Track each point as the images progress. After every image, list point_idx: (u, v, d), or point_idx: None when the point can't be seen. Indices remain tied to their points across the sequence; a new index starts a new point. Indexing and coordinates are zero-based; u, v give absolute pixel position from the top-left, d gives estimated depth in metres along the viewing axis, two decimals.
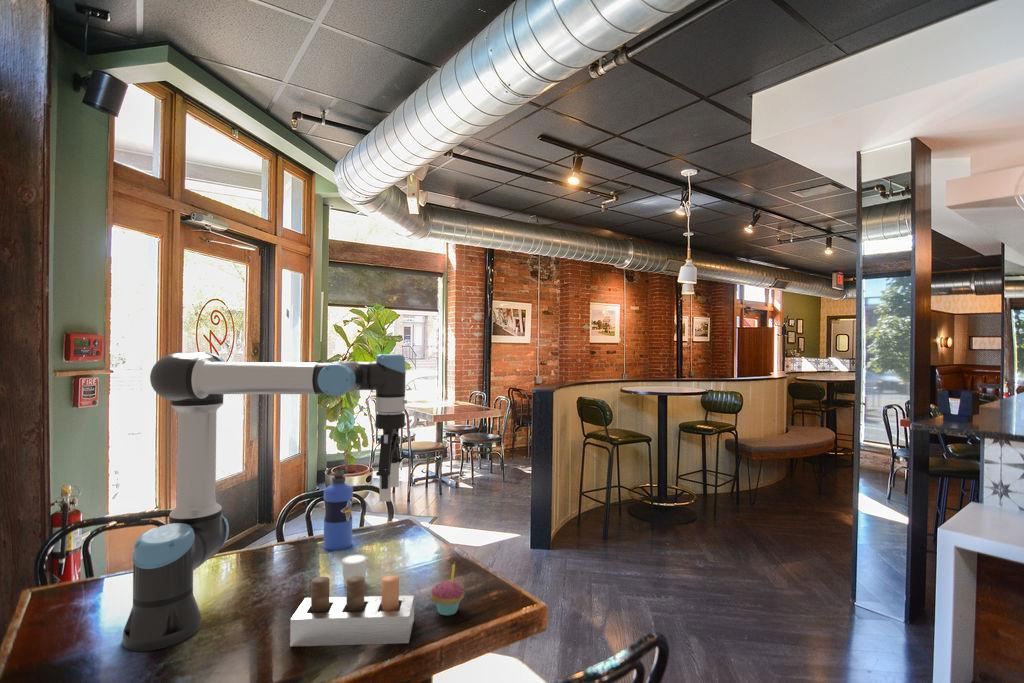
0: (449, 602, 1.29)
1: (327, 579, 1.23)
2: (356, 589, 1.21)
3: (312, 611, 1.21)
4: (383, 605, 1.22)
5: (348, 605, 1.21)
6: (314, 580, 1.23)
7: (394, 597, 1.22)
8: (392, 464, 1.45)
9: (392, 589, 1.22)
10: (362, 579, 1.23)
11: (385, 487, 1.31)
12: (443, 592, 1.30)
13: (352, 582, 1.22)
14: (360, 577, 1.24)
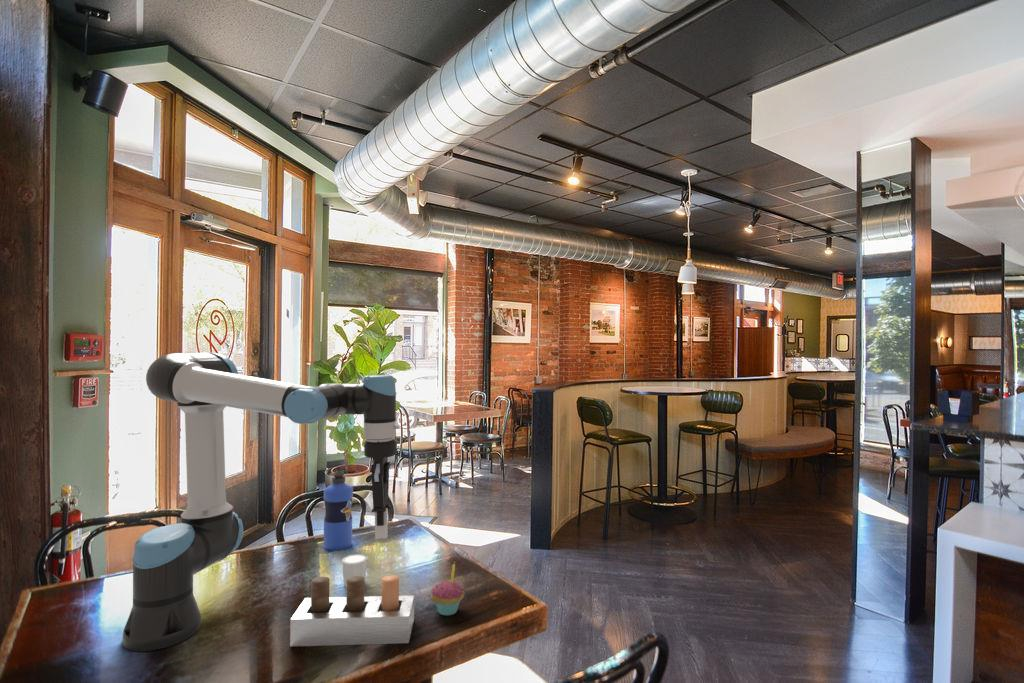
0: (449, 602, 1.29)
1: (327, 579, 1.23)
2: (356, 589, 1.21)
3: (312, 611, 1.21)
4: (383, 605, 1.22)
5: (348, 605, 1.21)
6: (314, 580, 1.23)
7: (394, 597, 1.22)
8: None
9: (392, 589, 1.22)
10: (362, 579, 1.23)
11: (381, 524, 1.25)
12: (443, 592, 1.30)
13: (352, 582, 1.22)
14: (360, 577, 1.24)
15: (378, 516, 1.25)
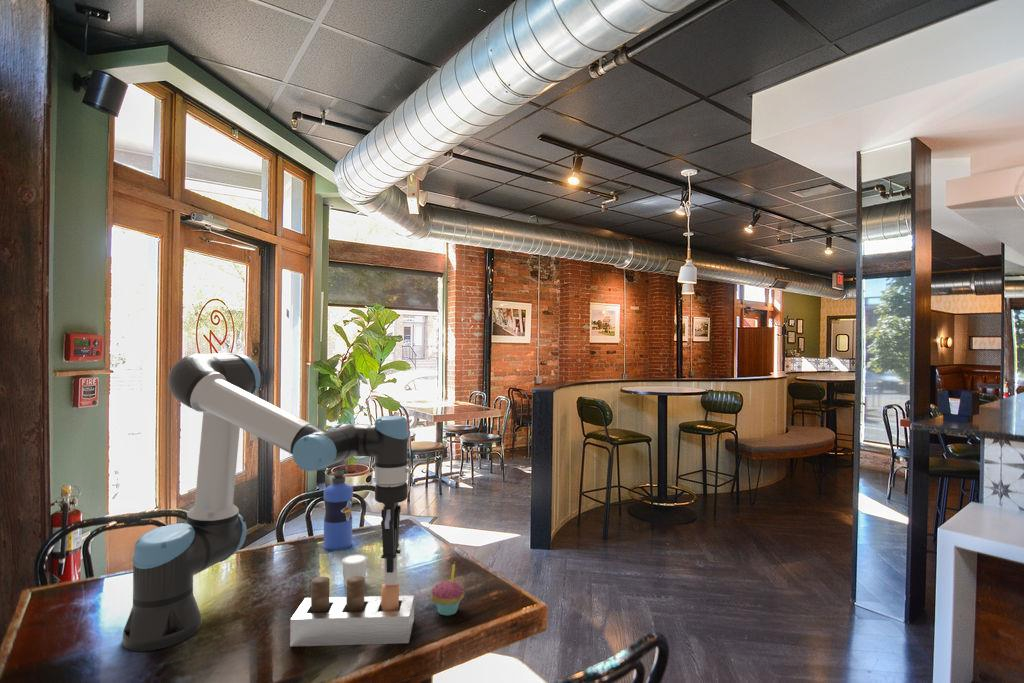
0: (449, 602, 1.29)
1: (327, 579, 1.23)
2: (356, 589, 1.21)
3: (312, 611, 1.21)
4: None
5: (348, 605, 1.21)
6: (314, 580, 1.23)
7: (394, 603, 1.22)
8: None
9: (392, 595, 1.22)
10: (362, 579, 1.23)
11: (391, 571, 1.22)
12: (443, 592, 1.30)
13: (352, 582, 1.22)
14: (360, 577, 1.24)
15: (388, 563, 1.22)
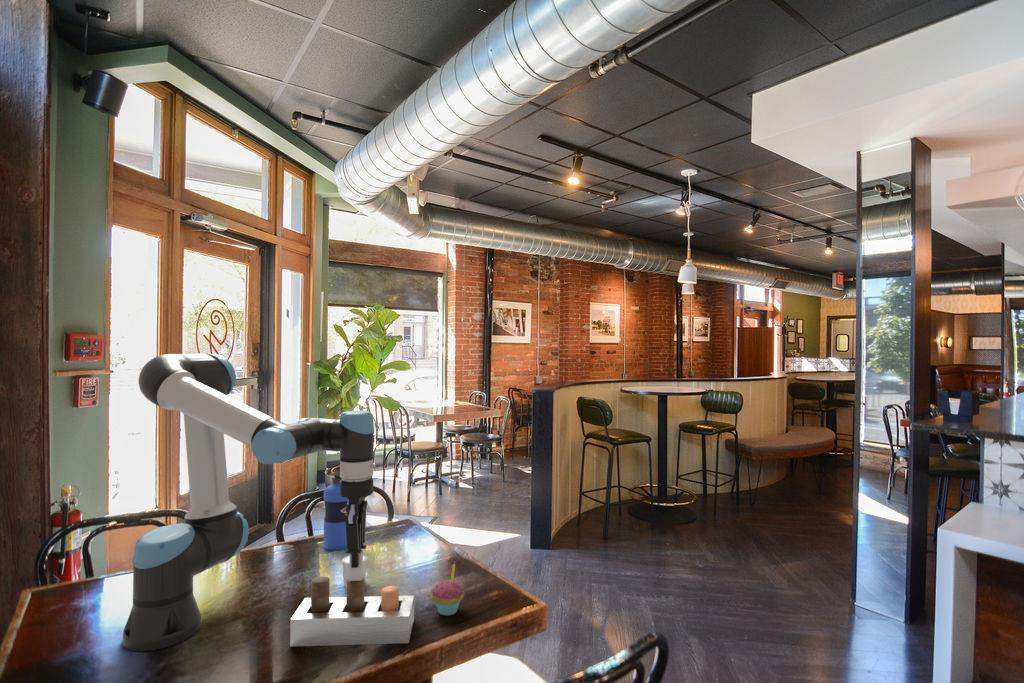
0: (449, 602, 1.29)
1: (327, 579, 1.23)
2: (356, 590, 1.21)
3: (312, 611, 1.21)
4: None
5: (348, 606, 1.21)
6: (314, 580, 1.23)
7: (394, 608, 1.22)
8: None
9: (392, 600, 1.22)
10: (362, 580, 1.23)
11: (355, 566, 1.21)
12: (443, 592, 1.30)
13: (352, 583, 1.22)
14: None
15: (352, 558, 1.21)
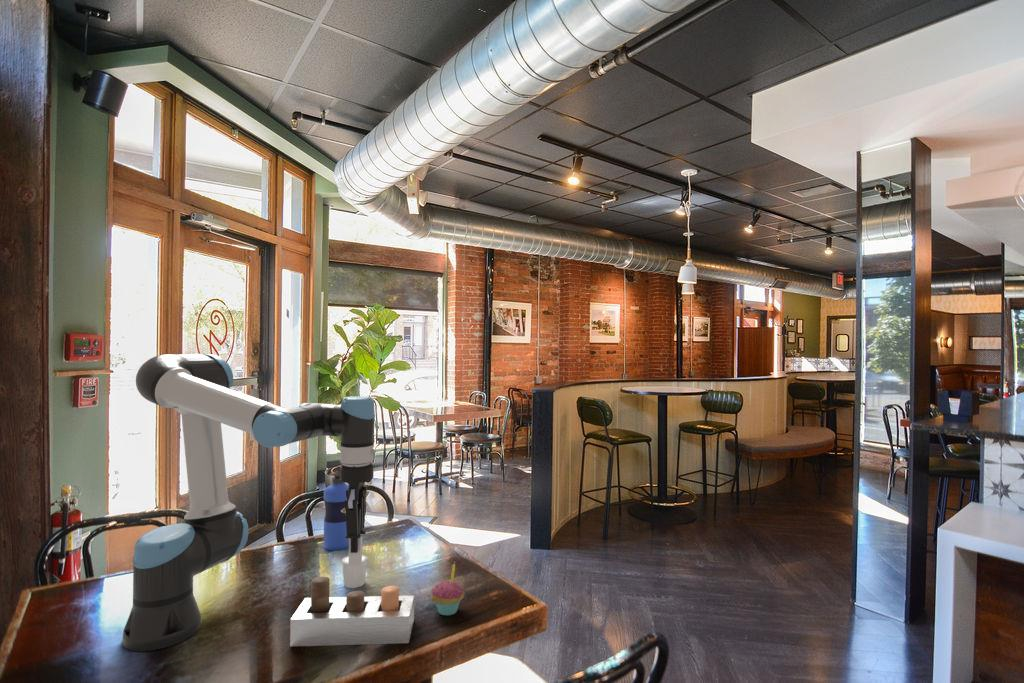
0: (449, 602, 1.29)
1: (327, 579, 1.23)
2: (356, 605, 1.21)
3: (312, 611, 1.21)
4: None
5: None
6: (314, 580, 1.23)
7: (394, 608, 1.22)
8: None
9: (392, 600, 1.22)
10: (362, 594, 1.23)
11: (355, 551, 1.21)
12: (443, 592, 1.30)
13: (352, 597, 1.22)
14: (360, 592, 1.24)
15: (352, 543, 1.21)
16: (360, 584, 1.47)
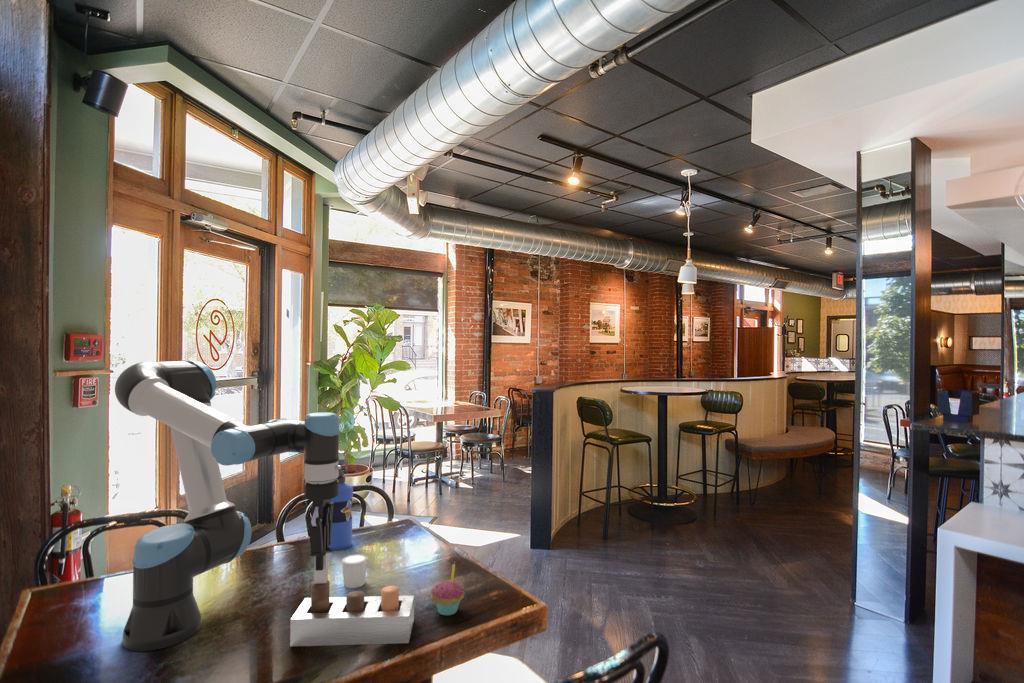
0: (449, 602, 1.29)
1: (327, 582, 1.23)
2: (356, 605, 1.21)
3: None
4: None
5: None
6: None
7: (394, 608, 1.22)
8: None
9: (392, 600, 1.22)
10: (362, 594, 1.23)
11: (320, 568, 1.21)
12: (443, 592, 1.30)
13: (352, 597, 1.22)
14: (360, 592, 1.24)
15: (317, 560, 1.21)
16: (360, 584, 1.47)
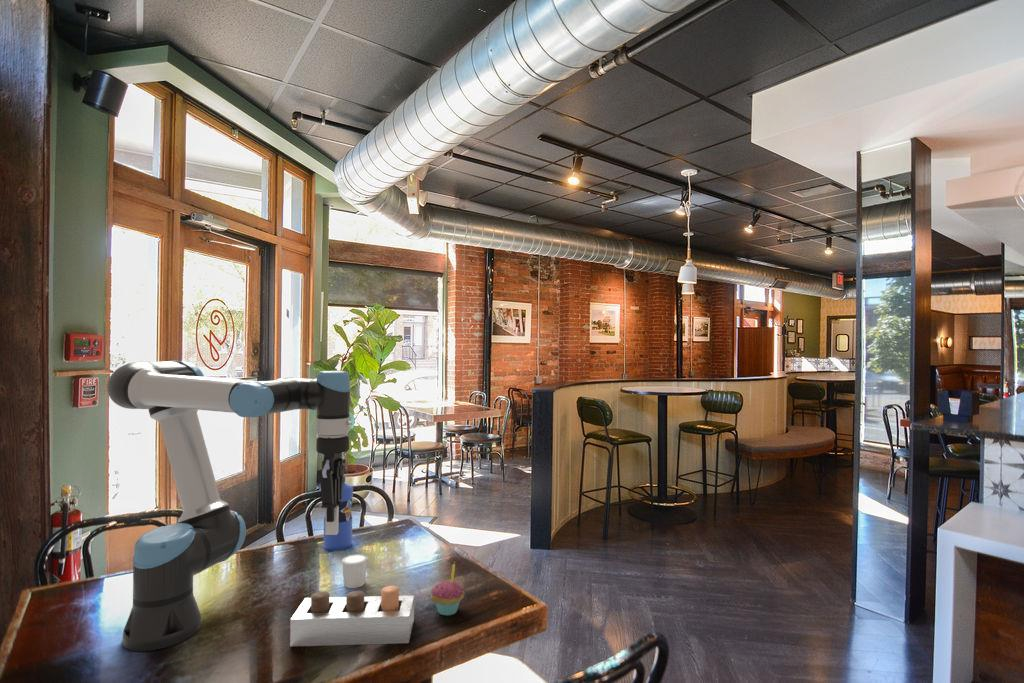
0: (449, 602, 1.29)
1: (327, 594, 1.23)
2: (356, 605, 1.21)
3: None
4: None
5: None
6: (314, 595, 1.22)
7: (394, 608, 1.22)
8: None
9: (392, 600, 1.22)
10: (362, 594, 1.23)
11: (330, 520, 1.25)
12: (443, 592, 1.30)
13: (352, 597, 1.22)
14: (360, 592, 1.24)
15: (328, 512, 1.25)
16: (360, 584, 1.47)
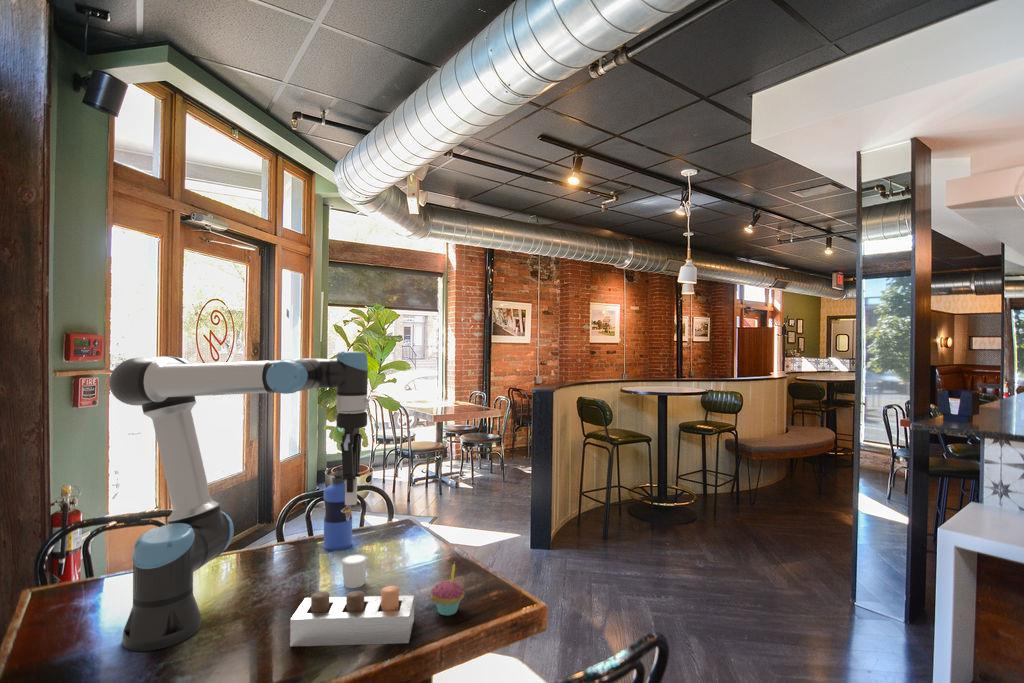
0: (449, 602, 1.29)
1: (327, 594, 1.23)
2: (356, 605, 1.21)
3: None
4: None
5: None
6: (314, 595, 1.22)
7: (394, 608, 1.22)
8: None
9: (392, 600, 1.22)
10: (362, 594, 1.23)
11: (350, 491, 1.33)
12: (443, 592, 1.30)
13: (352, 597, 1.22)
14: (360, 592, 1.24)
15: (348, 483, 1.33)
16: (360, 584, 1.47)
